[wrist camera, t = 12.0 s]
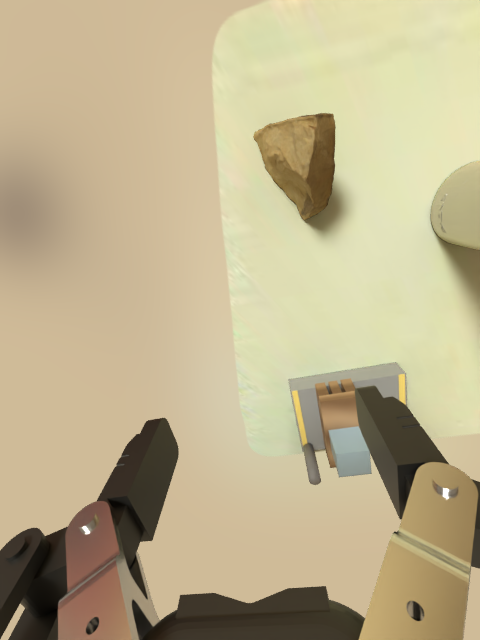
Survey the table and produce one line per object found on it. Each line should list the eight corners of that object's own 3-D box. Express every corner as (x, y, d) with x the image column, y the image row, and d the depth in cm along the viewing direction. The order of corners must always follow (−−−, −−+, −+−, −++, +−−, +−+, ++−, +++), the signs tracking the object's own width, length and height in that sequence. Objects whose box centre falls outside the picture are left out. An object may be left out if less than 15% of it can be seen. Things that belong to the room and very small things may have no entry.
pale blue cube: (328, 430, 39) (335, 454, 35) (358, 426, 38) (369, 450, 34) (331, 451, 40) (339, 477, 36) (360, 448, 39) (371, 473, 36)
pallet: (314, 383, 41) (320, 402, 37) (350, 378, 40) (359, 396, 36) (324, 445, 45) (330, 467, 41) (357, 442, 44) (365, 463, 41)
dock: (396, 362, 42) (430, 402, 34) (398, 424, 46) (429, 473, 38) (288, 379, 44) (295, 420, 36) (300, 437, 48) (308, 486, 40)
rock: (349, 221, 33) (365, 115, 28) (313, 238, 27) (325, 109, 22) (271, 213, 39) (273, 126, 34) (230, 226, 33) (224, 123, 28)
